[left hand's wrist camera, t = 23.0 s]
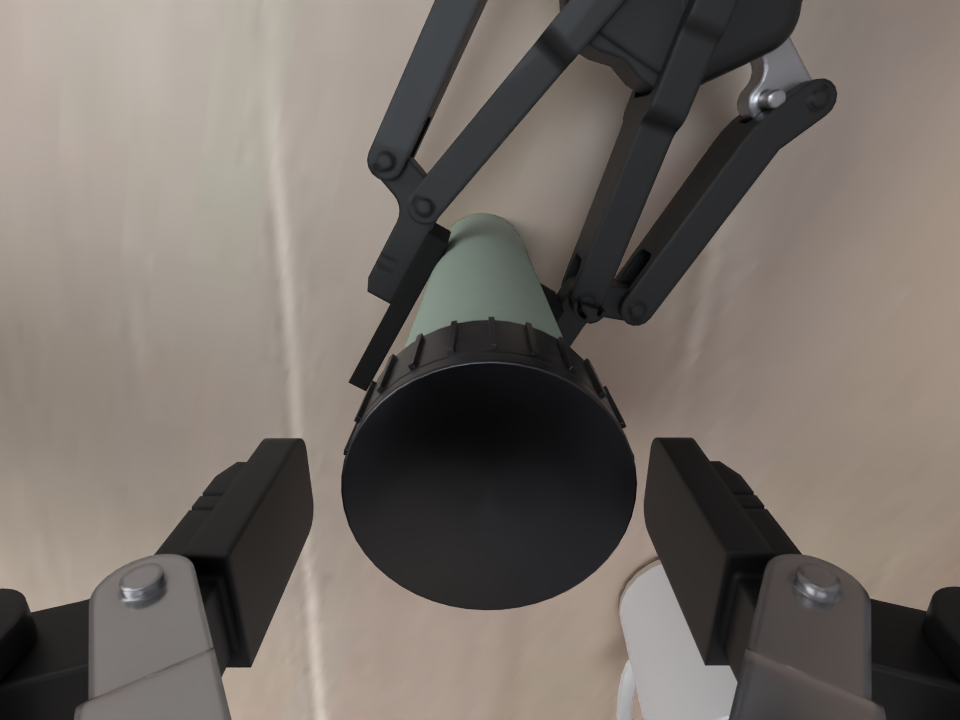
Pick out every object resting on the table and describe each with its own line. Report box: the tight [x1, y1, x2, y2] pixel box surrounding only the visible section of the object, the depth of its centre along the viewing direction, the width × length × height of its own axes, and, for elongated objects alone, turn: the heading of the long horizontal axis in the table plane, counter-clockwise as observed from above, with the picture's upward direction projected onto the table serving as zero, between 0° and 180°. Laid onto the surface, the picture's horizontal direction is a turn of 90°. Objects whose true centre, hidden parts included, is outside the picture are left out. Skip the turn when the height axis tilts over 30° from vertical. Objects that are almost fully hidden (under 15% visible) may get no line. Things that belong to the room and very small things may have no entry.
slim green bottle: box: [404, 213, 563, 349], centre depth 19 cm, size 4×4×19 cm
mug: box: [616, 559, 738, 720], centre depth 31 cm, size 11×9×10 cm
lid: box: [341, 317, 637, 610], centre depth 10 cm, size 5×5×2 cm
